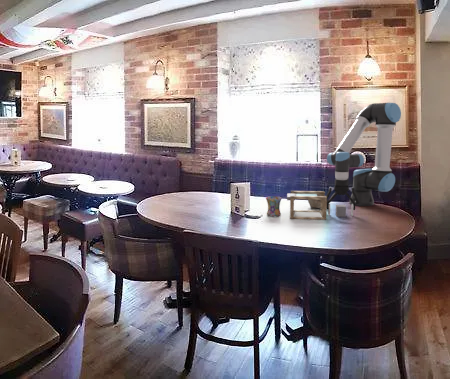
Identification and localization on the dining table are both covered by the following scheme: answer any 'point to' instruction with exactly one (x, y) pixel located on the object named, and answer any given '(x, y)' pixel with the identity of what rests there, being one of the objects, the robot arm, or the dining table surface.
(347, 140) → the robot arm
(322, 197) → the frame
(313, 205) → the rock
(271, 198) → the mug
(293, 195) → the trapdoor
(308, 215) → the mat
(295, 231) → the dining table surface
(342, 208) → the stone
